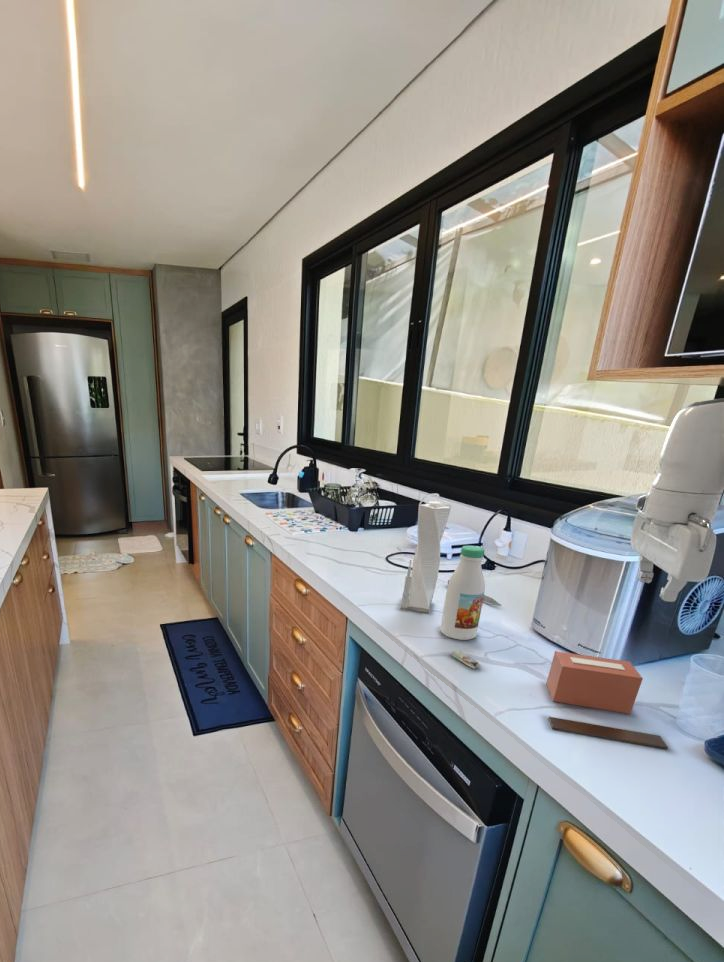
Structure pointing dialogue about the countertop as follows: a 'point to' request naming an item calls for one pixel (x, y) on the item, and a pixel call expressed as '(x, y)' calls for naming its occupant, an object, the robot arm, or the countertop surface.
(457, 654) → the granola bar
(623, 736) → the walnut ruler
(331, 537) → the countertop surface
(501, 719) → the countertop surface
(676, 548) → the robot arm
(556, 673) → the tissue box
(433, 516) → the skyscraper
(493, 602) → the kitchen knife
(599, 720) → the countertop surface
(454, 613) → the milk bottle
